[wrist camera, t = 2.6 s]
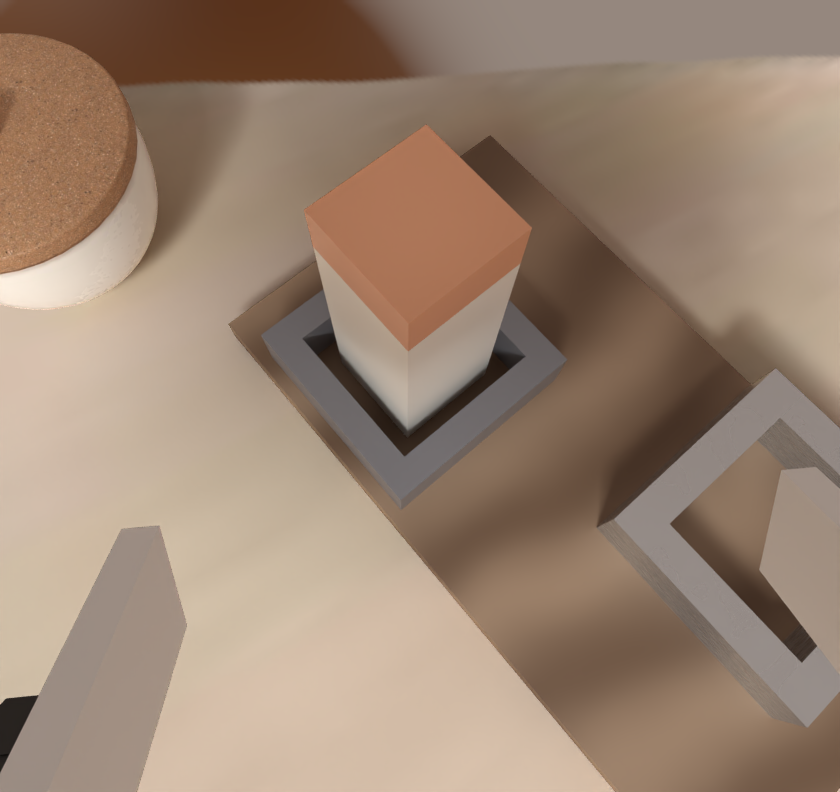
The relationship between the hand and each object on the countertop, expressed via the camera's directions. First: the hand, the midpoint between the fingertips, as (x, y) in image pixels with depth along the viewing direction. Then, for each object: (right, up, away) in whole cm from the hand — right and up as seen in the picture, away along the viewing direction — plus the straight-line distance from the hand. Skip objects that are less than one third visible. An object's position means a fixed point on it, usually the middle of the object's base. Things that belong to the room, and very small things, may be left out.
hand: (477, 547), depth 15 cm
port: (+13, -3, +14) cm, 19 cm away
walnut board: (+6, 0, +16) cm, 17 cm away
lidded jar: (-18, +11, +19) cm, 28 cm away
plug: (-2, +5, +16) cm, 16 cm away
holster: (-2, +4, +16) cm, 16 cm away
